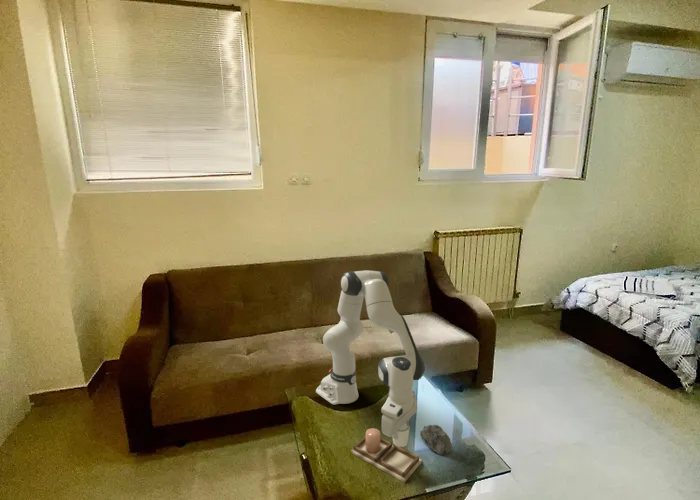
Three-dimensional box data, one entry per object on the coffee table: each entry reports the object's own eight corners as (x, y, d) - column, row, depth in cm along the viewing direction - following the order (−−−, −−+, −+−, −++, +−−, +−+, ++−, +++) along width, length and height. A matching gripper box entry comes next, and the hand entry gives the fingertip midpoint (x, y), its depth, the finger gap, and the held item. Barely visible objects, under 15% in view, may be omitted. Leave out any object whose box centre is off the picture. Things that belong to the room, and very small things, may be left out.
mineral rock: (418, 435, 168) (419, 414, 166) (442, 433, 169) (443, 413, 167) (427, 457, 155) (428, 435, 153) (453, 455, 157) (455, 433, 154)
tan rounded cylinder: (362, 449, 159) (362, 433, 157) (371, 441, 163) (371, 426, 162) (374, 455, 155) (374, 440, 154) (383, 447, 160) (383, 432, 158)
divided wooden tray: (350, 452, 158) (350, 447, 158) (369, 435, 168) (369, 430, 168) (404, 482, 143) (404, 476, 142) (421, 462, 153) (421, 456, 152)
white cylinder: (409, 448, 146) (409, 432, 144) (391, 447, 147) (391, 430, 145) (409, 436, 152) (409, 420, 151) (391, 435, 153) (391, 419, 152)
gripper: (407, 386, 156) (406, 416, 159) (378, 410, 140) (378, 444, 143) (421, 391, 152) (420, 422, 155) (393, 417, 137) (393, 452, 139)
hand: (400, 433), depth 149 cm, fingers closed on white cylinder, 5 cm apart
